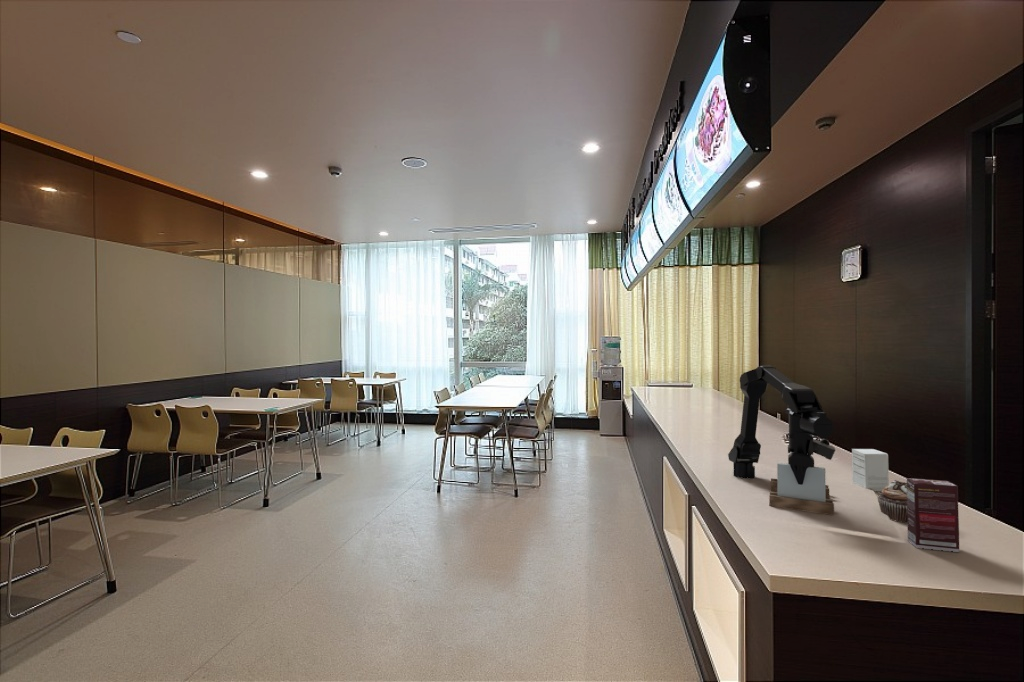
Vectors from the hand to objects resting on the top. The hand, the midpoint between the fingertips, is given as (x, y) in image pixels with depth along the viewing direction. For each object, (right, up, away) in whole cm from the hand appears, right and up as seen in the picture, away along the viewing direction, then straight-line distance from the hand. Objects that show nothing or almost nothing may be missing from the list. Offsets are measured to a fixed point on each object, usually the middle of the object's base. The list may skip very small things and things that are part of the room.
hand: (800, 483), depth 139 cm
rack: (+4, -8, +7) cm, 11 cm away
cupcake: (+25, -8, -5) cm, 27 cm away
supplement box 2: (+17, -8, -24) cm, 31 cm away
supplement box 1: (+36, -8, +20) cm, 42 cm away
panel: (0, -5, 0) cm, 5 cm away
